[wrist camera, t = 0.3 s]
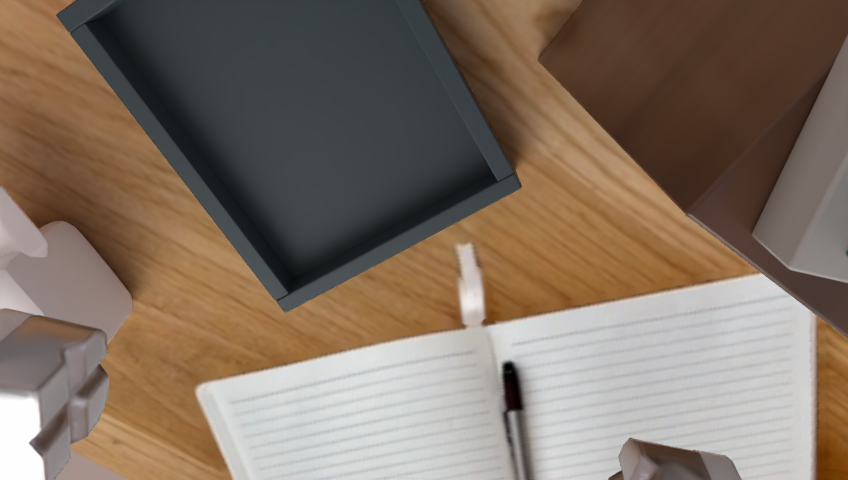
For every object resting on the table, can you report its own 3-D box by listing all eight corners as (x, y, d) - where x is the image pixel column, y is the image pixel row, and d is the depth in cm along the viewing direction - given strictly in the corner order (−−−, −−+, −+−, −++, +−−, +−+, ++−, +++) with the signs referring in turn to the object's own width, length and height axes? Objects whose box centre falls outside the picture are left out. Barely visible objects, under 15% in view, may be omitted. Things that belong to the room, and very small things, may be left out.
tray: (82, 9, 28) (54, 15, 26) (331, -165, 25) (323, -175, 23) (293, 290, 33) (284, 313, 31) (516, 171, 31) (522, 188, 29)
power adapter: (-81, 156, 31) (-188, 201, 25) (-2, 107, 30) (-96, 143, 24) (79, 337, 35) (16, 409, 29) (153, 298, 34) (101, 366, 28)
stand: (536, 59, 29) (685, 214, 12) (649, -86, 26) (1017, -132, 10) (653, 151, 30) (921, 395, 14) (769, 22, 28) (1252, 134, 12)
